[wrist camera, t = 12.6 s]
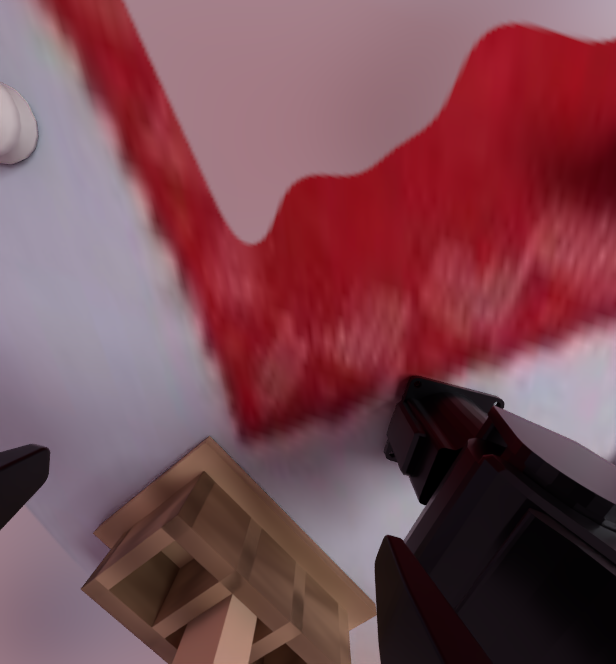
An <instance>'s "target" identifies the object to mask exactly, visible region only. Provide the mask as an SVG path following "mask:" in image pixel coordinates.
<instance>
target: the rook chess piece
mask: <svg viewBox="0 0 616 664" xmlns="http://www.w3.org/2000/svg"><path fill="white" fill-rule="evenodd" d="M38 137H39V135H38V126H37V121H36V119H35V117H34V115H33V113H32V110H31V108H30V106H29V105H28V103H27V102H26V100H25V99H24V98H23V97H22V96H21V95H20V94H19V93H18V92H17V90H15V89H13V88H11V87H9V86H8V85H6V84H4V83H0V163H2V164H14V163H16V162H19V161H21V160H23V159H26V158H28V157H29V156H30V155H31V153H32V152H33V151H34V150H35V149H36V145H37V141H38Z"/></svg>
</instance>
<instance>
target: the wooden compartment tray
mask: <svg viewBox="0 0 616 664" xmlns="http://www.w3.org/2000/svg"><path fill="white" fill-rule="evenodd" d="M93 534H94V535H95V536H96V537H97V538H99V539H100V540H101V541H102V542H103V543H104V544H105V545H106V546H108V547H109V548H110V549H111V550H110V551H109V553H108V554H107V555H106V557H105V558H104V559H103V560H102V562H101V563H100V564H99V566H98V567H97V568H96V570H95V571H94V572H93V574H92V575H91V576H90V578H89V579H88V580H87V581H86V583H85V584H84V585H83V587H82V588H81V590H82V591H83V592H85V593H86V594H87V595H88V596H89V597H90V598H92V599H93V600H94V601H95V602H96V603H98V604H99V605H100V606H101V607H102V608H103V609H105V610H106V611H107V612H108V613H109V614H110V615H112V616H113V617H114V618H115V619H116V620H118V621H119V622H120V623H121V624H122V625H123V626H124V627H126V628H127V629H128V630H129V631H130V632H132V633H133V634H134V635H135V636H136V637H137V638H139V639H140V640H141V641H142V642H143V643H144V644H146V645H147V646H148V647H149V648H150V649H152V650H153V651H154V652H155V653H156V654H157V655H159V656H160V657H161V658H162V659H163V660H164V661H166V662H167V663H168V664H172V663H173V660H174V658H175V655H176V652H177V650H178V647H179V645H180V642H181V639H182V637H183V634H184V632H185V629H186V626H187V624H188V622H190V621H191V620H193V619H194V618H196V617H197V616H199V615H200V614H202V613H203V612H205V611H207V610H208V609H210V608H211V607H213V606H214V605H216V604H217V603H219V602H220V601H222V600H223V599H225V598H226V597H228V596H229V595H231V594H233V595H234V596H235V597H236V598H237V599H238V600H240V601H241V602H242V603H243V604H244V605H245V606H246V607H247V608H248V609H249V610H250V611H251V612H252V613H254V614H255V615H256V616H257V621H256V626H255V631H254V636H253V641H252V647H251V652H250V657H249V662H248V664H351V655H350V641H349V631H350V630H351V629H353V628H355V627H357V626H358V625H360V624H362V623H364V622H365V621H367V620H369V619H371V618H372V617H374V616H376V615H377V613H376V606H375V603H374V602H373V601H372V600H371V599H370V598H369V597H368V596H367V595H366V594H365V593H364V592H363V591H362V590H361V589H360V588H359V587H358V586H357V585H356V584H355V583H354V582H353V581H352V580H351V579H350V578H349V577H348V576H347V575H346V574H345V573H344V572H343V571H342V570H341V569H340V568H339V567H338V566H337V565H336V564H335V563H334V562H333V561H332V560H331V559H330V558H329V557H328V556H327V555H326V554H325V553H324V552H323V550H322V549H321V548H320V547H319V546H318V545H317V544H316V543H315V542H314V541H313V540H312V539H311V538H310V537H309V536H308V535H307V534H306V533H305V532H304V531H303V530H302V529H301V528H300V527H299V526H298V525H297V524H296V523H295V522H294V521H293V520H292V519H291V518H290V517H289V516H288V515H287V514H286V513H285V512H284V511H283V510H282V509H281V508H280V507H279V506H278V505H277V504H276V503H275V502H274V501H273V500H272V499H271V498H270V497H269V496H268V495H267V494H266V493H265V492H264V491H263V490H262V489H261V488H260V487H259V486H258V485H257V484H256V483H255V482H254V481H253V480H252V478H251V477H250V476H249V475H248V474H247V473H246V472H245V471H244V470H243V469H242V468H241V467H240V466H239V465H238V464H237V463H236V462H235V461H234V460H233V459H232V458H231V457H230V456H229V455H228V454H227V453H226V452H225V451H224V450H223V449H222V448H221V447H220V446H219V445H218V444H217V443H216V442H215V441H214V440H213V439H212V438H211V437H210V436H209V437H208V438H207V439H205V440H204V441H203V442H202V443H200V444H199V445H198V446H197V447H196V448H194V449H193V450H192V451H191V452H189V453H188V454H187V455H186V456H184V457H183V458H182V459H181V460H180V461H178V462H177V463H176V464H175V465H173V466H172V467H171V468H170V469H168V470H167V471H166V472H165V473H164V474H162V475H161V476H160V477H159V478H157V479H156V480H155V481H154V482H152V483H151V484H150V485H149V486H148V487H146V488H145V489H144V490H143V491H141V492H140V493H139V494H138V495H136V496H135V497H134V498H133V499H132V500H130V501H129V502H128V503H127V504H125V505H124V506H123V507H122V508H120V509H119V510H118V511H117V512H116V513H114V514H113V515H112V516H111V517H109V518H108V519H107V520H106V521H104V522H103V523H102V524H101V525H100V526H99V527H98V528H97V529H96V530H95V531H94V533H93Z"/></svg>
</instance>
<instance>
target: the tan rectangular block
mask: <svg viewBox="0 0 616 664" xmlns="http://www.w3.org/2000/svg"><path fill="white" fill-rule="evenodd" d="M256 621H257V616H256V615H255V614H254V613H252V612H251V611H250V610H249V609H248V608H247V607H246V606H245V605H244V604H243V603H242V602H241V601H240V600H238V599H237V598H236V597H235V596H234V595H233V594H231V595H229V596H228V597H226V598H225V599H223V600H222V601H220V602H219V603H217V604H216V605H214V606H213V607H211V608H210V609H208V610H207V611H205V612H203V613H202V614H200V615H199V616H197V617H196V618H194V619H193V620H191V621H190V622H188V624H187V626H186V629H185V632H184V634H183V637H182V639H181V642H180V645H179V647H178V650H177V652H176V655H175V658H174V660H173V663H172V664H248V662H249V657H250V652H251V647H252V641H253V636H254V631H255V626H256Z"/></svg>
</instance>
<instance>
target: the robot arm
mask: <svg viewBox="0 0 616 664" xmlns="http://www.w3.org/2000/svg"><path fill="white" fill-rule="evenodd" d="M416 381H420V383H419V385H417V386H414V383H415V382H416ZM495 402H497V404H496V405H495V406H494V405H493V404H494V403H495ZM503 408H504V401H503V400H502V399H500V398H499V397H497V396H494V395H490V394H486V393H483V392H479V391H475V390H471V389H467V388H463V387H460V386H456V385H452V384H448V383H444V382H440V381H437V380H433V379H429V378H425V377H421V376H412V377H411V378H410V379H409V382H408V384H407V387H406V390H405V393H404V396H403V398H402V401H400V402H399V403H397V405H396V408H395V411H394V414H393V417H392V419H391V422H390V425H389V428H388V431H387V436H388V441H387V444H386V447H385V449H384V453H385V456H386V458H387V459H388V460H390V461H394V462H398V465H399V467H400V470H401V472H402V473H403V475H407V476H409V478H410V481H411V483H412V486H413V488H414V490H415V493H416V495H417V498H418V500H419V502H420V503H421V504H423V505H426V506H425V508H424V509H423V511H422V513H421V514H420V516H419V517H418V519H417V520H416V522H415V523H414V525H413V527H412V528H411V530H410V531H409V533H408V534H407V536H406V538H405V539H404V541H403V540H402V539H401V538H398V537H395V536H391V535H386V536H385V537H384V539H383V541H382V544H381V546H380V549H379V551H378V554H377V557H376V560H375V586H376V605H377V624H378V641H379V651H380V660H381V664H616V466H615V465H613V464H612V463H610V462H608V461H607V460H605V459H604V458H602V457H600V456H599V455H597V454H595V453H594V452H592V451H591V450H589V449H587V448H586V447H584V446H582V445H581V444H579V443H577V442H575V441H573V440H571V439H569V438H567V437H564V436H562V435H560V434H558V433H555V432H553V431H551V430H549V429H546V428H544V427H542V426H540V425H537V424H535V423H533V422H531V421H528V420H526V419H524V418H522V417H519V416H517V415H515V414H513V413H510V412H508V411H506V410H504V409H503ZM391 451H393V452H394V453H393V454H389V453H390V452H391ZM49 463H50V450H49V448H47V447H44V446H40V445H36V444H29V445H25V446H22V447H18V448H14V449H11V450H7V451H4V452H0V530H1V529H2V528H3V527H4V526H5V525H6V524H7V522H8V521H9V520H10V519H11V518H12V517H13V516H14V515H15V514H16V513H17V512H18V511H19V509H21V507H23V505H24V504H25V503H26V502H27V501H28V500H29V499H30V498H31V497H32V496H33V495H34V494H35V493H36V492H37V491H38V489H39V488H40V487H41V486H42V485H43V484H44V483H45V481H46V479H47V477H48V475H49Z"/></svg>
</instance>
